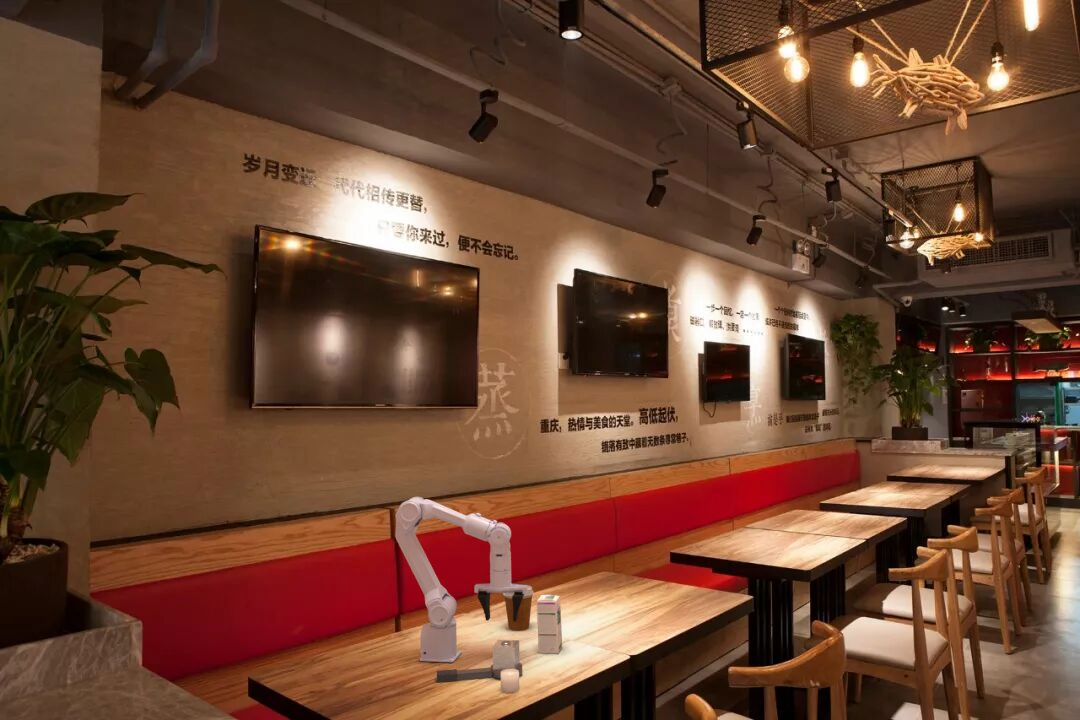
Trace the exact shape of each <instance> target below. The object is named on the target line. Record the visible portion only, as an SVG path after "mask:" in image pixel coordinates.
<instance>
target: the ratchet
mask: <svg viewBox="0 0 1080 720" xmlns="http://www.w3.org/2000/svg"><path fill="white" fill-rule="evenodd" d="M516 670H518V671H519V678H521V677H522V676H523V664H522V663H521V662H520V663H519V665H518V666H517V668H516ZM501 671H502V670H493V663H492V664H491V665H490V667H481V668H479V667H478V668H470V669H469V668H467V669H457V668H455V669H443V670H436V683H448V682H450V683H451V682H459V681H467V680H469V681H470V680H478V679H479V680H480V679H490V678H492V679H494V680H497V681H501Z"/></svg>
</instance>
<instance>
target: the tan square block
mask: <svg viewBox="0 0 1080 720" xmlns="http://www.w3.org/2000/svg"><path fill="white" fill-rule="evenodd" d="M520 655H521V654H520V640H516V639H515V640H514V639H497V640H496V642H495V643H494V644H493V646H492V664H493V670H505V669H516V668H517V666H518V665H519V663H521V661H520V660H521V659H520Z"/></svg>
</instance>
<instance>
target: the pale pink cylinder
mask: <svg viewBox="0 0 1080 720" xmlns="http://www.w3.org/2000/svg"><path fill="white" fill-rule="evenodd" d="M519 690H520V677H519V671H518V670H516V669H505V670H502V671H501V680H500V691H501V692H503V693H506V694H508V693H509V694H512V693H517V692H519Z"/></svg>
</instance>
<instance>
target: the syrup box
mask: <svg viewBox="0 0 1080 720" xmlns="http://www.w3.org/2000/svg"><path fill="white" fill-rule="evenodd" d="M561 611H562V610H561V596H560V595H559V594H542V595H541V594H540V597H538V598H537V600H536V616H537V617H536V618H537V619H536V621H537V643H538V645H537V646H538V653H539V654H545V653H549V654H548V655H550V654H551V655H558V653H559V654H560V652H561V650H562V648H563V638H562V637H563V635H562V614H561V613H562V612H561ZM552 653H553V654H552Z"/></svg>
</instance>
